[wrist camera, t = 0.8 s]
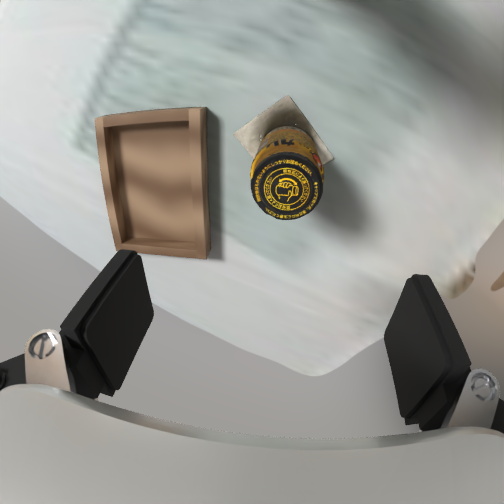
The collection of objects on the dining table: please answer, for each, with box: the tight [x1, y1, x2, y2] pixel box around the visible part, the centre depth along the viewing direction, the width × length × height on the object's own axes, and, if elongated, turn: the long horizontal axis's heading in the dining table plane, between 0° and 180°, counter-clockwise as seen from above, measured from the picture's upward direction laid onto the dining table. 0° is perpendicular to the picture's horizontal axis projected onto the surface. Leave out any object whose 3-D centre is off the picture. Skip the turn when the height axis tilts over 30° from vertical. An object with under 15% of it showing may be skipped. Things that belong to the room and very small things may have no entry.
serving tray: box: [95, 107, 211, 259], centre depth 33 cm, size 18×13×2 cm
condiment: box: [234, 95, 333, 220], centre depth 25 cm, size 7×8×12 cm
